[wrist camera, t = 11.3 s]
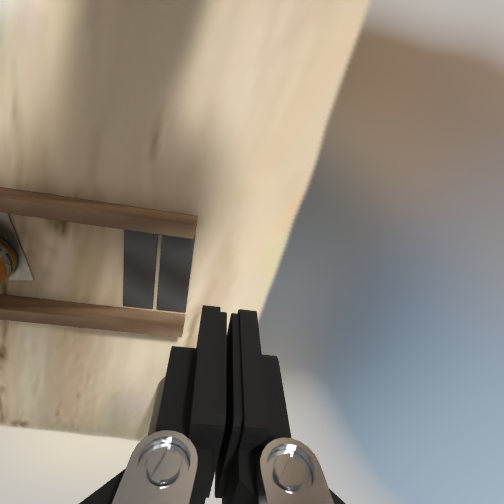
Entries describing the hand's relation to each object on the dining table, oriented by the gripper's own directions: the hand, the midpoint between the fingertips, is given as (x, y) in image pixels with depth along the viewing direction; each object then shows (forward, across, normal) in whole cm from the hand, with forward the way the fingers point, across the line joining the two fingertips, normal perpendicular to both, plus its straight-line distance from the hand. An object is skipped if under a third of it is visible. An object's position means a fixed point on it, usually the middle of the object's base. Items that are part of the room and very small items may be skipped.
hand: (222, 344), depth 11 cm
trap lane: (+27, +17, +15) cm, 35 cm away
